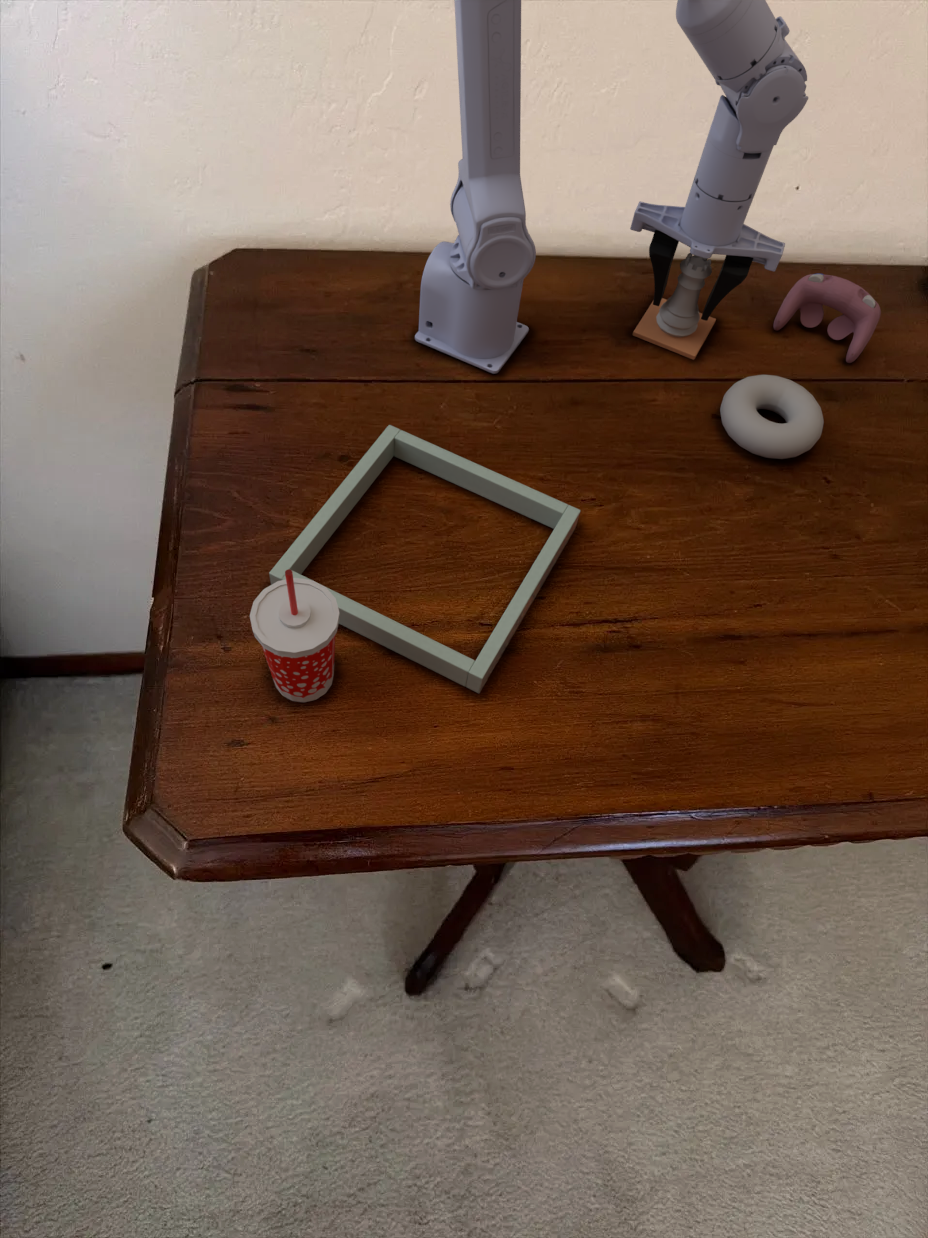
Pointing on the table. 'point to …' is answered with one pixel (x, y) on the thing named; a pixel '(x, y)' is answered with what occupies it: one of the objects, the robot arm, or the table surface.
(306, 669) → the beverage cup
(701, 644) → the table surface
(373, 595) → the table surface
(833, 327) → the video game controller
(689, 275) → the rook chess piece
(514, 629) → the open square border
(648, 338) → the mat
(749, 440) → the donut
